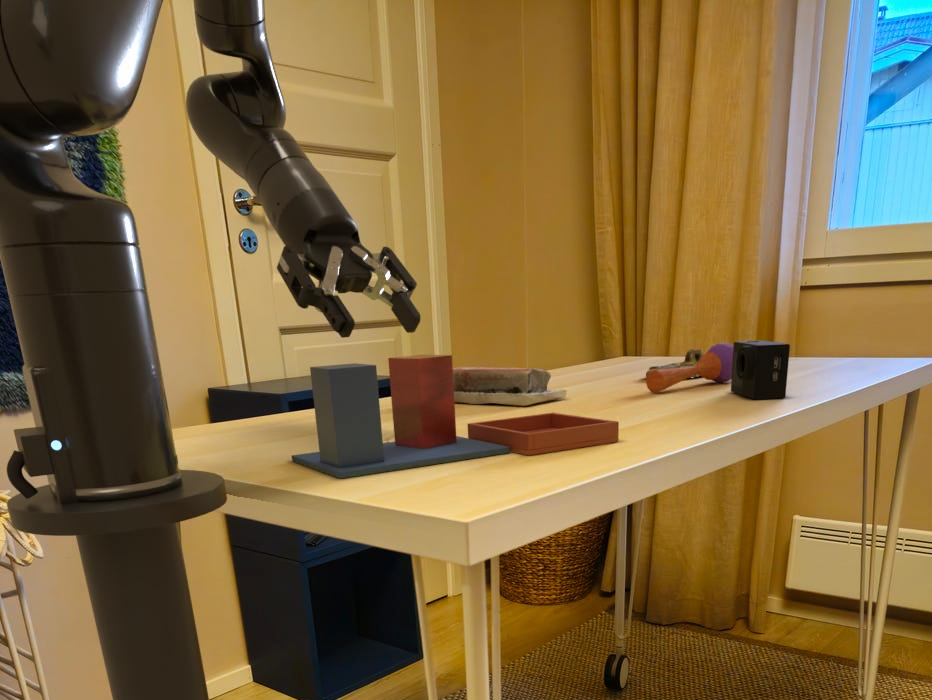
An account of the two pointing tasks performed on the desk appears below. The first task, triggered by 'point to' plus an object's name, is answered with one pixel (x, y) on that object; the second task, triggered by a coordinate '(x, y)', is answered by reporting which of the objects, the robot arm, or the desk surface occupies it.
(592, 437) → the red tray
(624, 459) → the desk surface
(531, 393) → the weathered brick on slab
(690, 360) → the seal
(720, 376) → the orange and purple microphone
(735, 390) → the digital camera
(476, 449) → the blue mat
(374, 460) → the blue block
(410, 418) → the red block
